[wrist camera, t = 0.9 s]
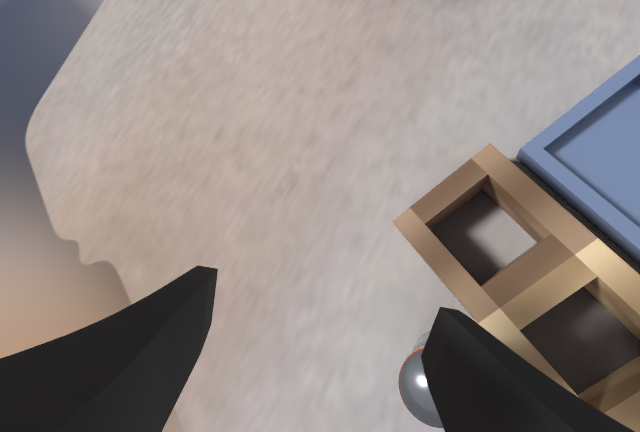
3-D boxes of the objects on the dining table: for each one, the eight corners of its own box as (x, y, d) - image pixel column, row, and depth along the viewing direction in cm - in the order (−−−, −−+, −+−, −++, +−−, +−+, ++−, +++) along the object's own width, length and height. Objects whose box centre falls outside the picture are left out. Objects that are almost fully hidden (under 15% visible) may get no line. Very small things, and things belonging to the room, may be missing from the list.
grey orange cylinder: (476, 363, 19) (493, 402, 12) (436, 390, 20) (430, 444, 13) (441, 320, 20) (439, 334, 13) (404, 347, 21) (384, 374, 14)
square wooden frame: (575, 246, 19) (598, 238, 16) (473, 318, 20) (478, 323, 17) (484, 162, 21) (490, 143, 19) (398, 229, 22) (392, 221, 20)
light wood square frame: (697, 358, 16) (749, 371, 13) (572, 435, 17) (596, 463, 14) (575, 246, 19) (598, 238, 16) (473, 318, 20) (478, 323, 17)
